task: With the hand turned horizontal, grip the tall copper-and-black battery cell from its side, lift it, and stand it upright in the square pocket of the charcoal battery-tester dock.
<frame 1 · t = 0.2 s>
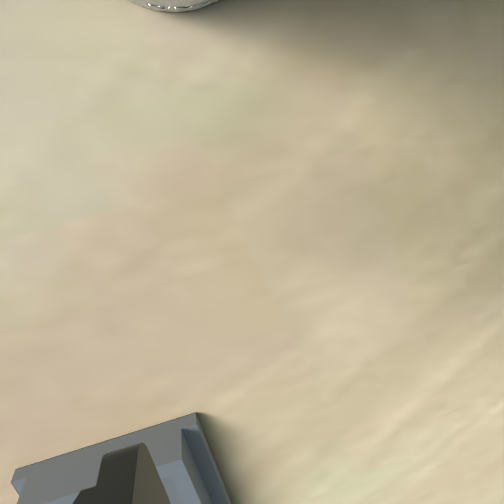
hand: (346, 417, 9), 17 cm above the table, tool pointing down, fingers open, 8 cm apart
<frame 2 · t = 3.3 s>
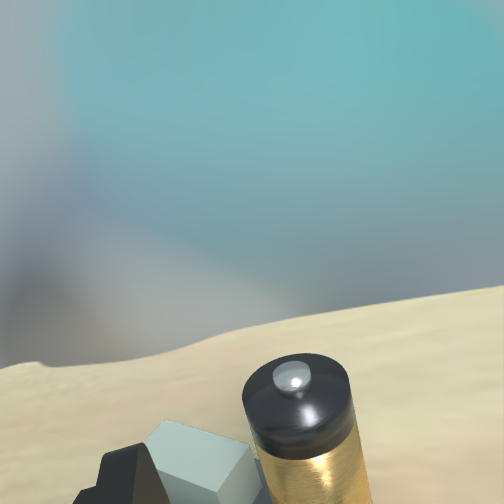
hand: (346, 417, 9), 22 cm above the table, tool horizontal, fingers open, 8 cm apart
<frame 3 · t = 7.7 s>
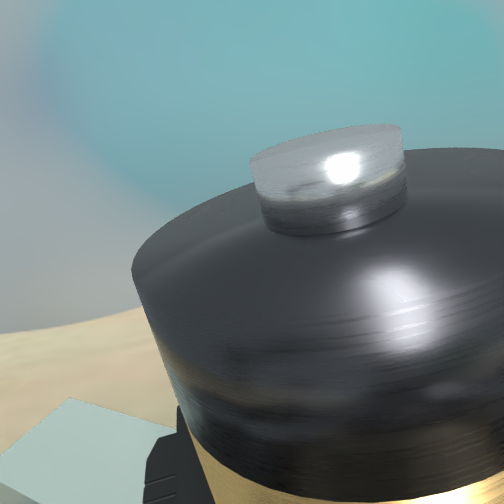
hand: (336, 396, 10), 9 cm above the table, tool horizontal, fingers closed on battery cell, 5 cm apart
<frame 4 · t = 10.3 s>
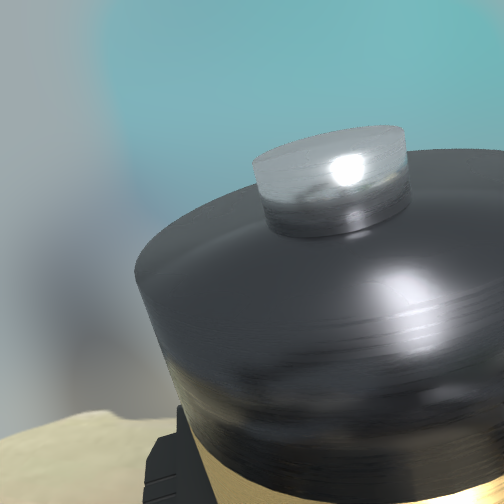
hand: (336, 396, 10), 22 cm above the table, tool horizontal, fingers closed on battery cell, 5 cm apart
when the fingers open (11 cm above the table, at t = 13.0 s): battery cell drops 1 cm, resting on tester dock.
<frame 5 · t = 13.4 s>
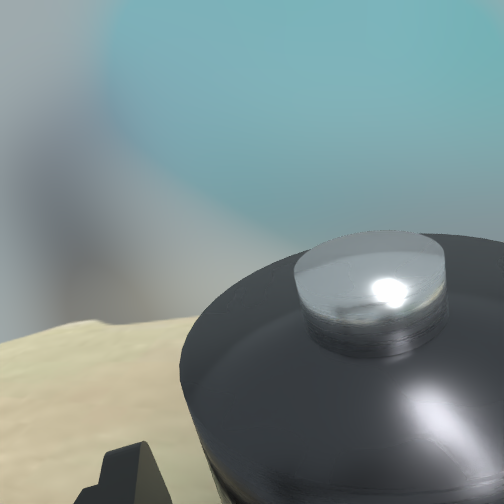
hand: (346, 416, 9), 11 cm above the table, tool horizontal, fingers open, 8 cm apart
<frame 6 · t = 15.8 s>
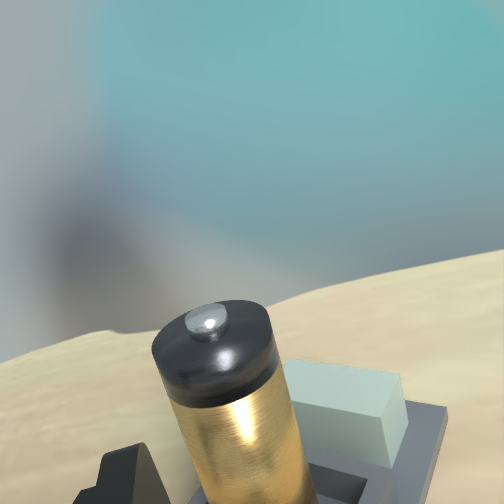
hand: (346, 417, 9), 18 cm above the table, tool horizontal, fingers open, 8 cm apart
tester dock: (314, 503, 28), on the table
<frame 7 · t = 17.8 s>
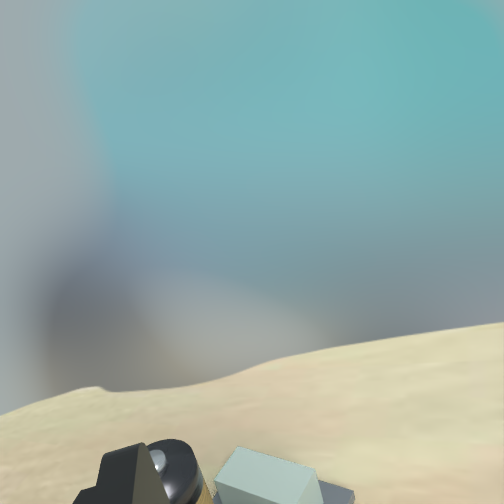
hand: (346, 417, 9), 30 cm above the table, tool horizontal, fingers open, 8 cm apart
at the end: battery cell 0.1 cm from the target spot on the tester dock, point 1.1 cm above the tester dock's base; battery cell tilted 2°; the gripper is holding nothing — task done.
